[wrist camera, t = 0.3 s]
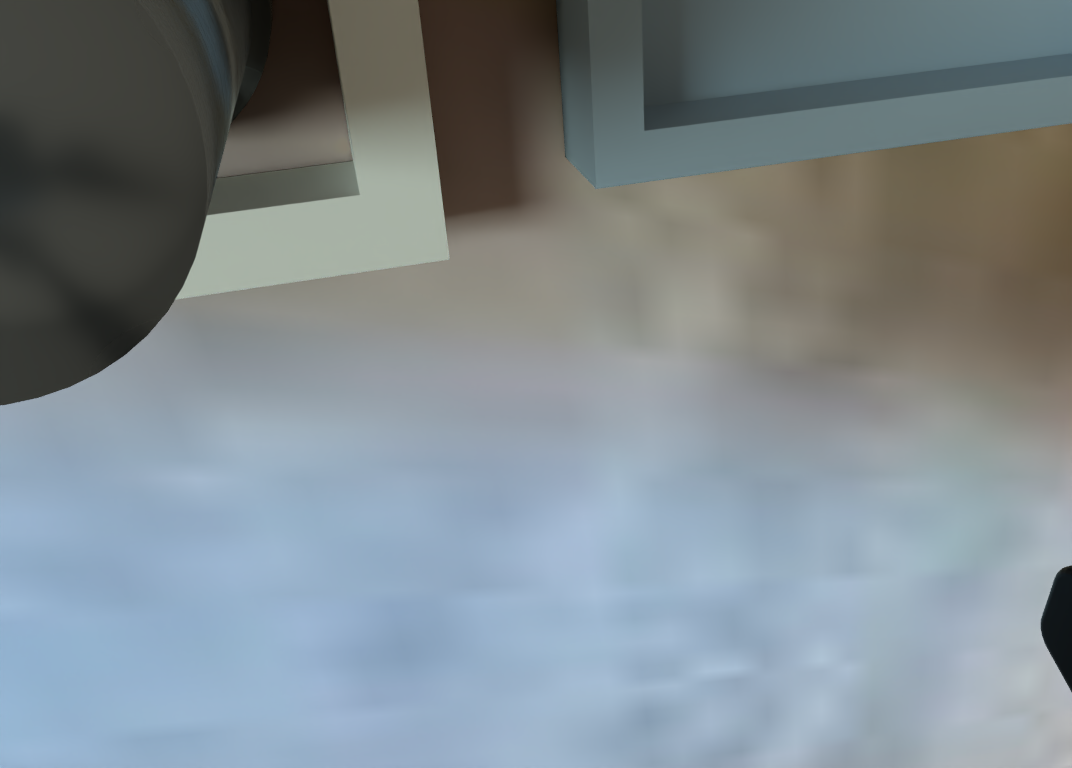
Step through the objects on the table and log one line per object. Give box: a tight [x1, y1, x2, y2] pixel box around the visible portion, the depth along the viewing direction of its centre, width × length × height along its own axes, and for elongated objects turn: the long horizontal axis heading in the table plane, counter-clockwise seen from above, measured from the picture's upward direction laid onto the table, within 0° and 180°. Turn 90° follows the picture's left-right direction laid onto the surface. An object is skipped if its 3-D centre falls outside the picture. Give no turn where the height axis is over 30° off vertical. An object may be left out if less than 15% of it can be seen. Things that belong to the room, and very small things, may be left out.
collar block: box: [176, 0, 449, 299], centre depth 17 cm, size 10×10×2 cm
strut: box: [0, 0, 272, 405], centre depth 13 cm, size 5×5×12 cm
